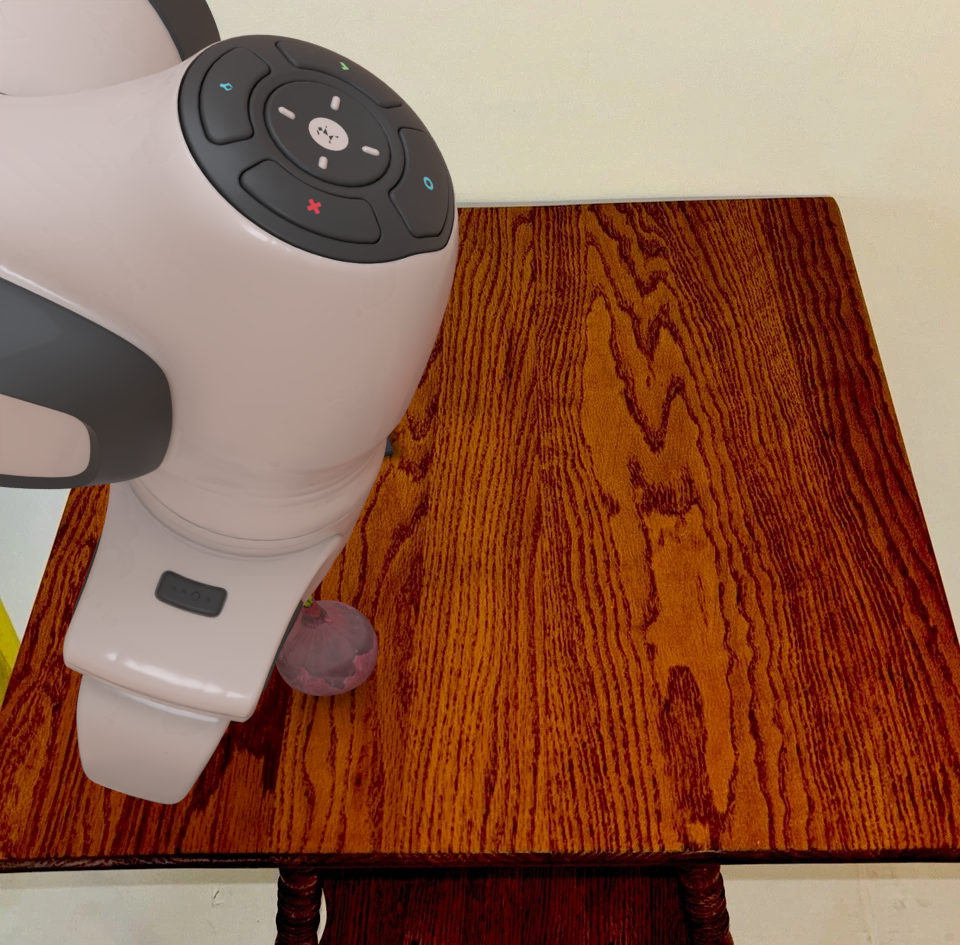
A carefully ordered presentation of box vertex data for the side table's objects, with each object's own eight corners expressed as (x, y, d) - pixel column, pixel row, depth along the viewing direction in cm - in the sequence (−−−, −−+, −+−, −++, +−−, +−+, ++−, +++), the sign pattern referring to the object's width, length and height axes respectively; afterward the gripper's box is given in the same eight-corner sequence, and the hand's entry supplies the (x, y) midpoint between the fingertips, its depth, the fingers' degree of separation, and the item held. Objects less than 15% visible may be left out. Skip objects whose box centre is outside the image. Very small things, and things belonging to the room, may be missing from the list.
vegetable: (274, 663, 67) (241, 567, 59) (364, 627, 68) (342, 530, 61) (303, 740, 63) (270, 647, 56) (397, 701, 64) (378, 606, 57)
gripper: (256, 241, 43) (222, 421, 54) (36, 697, 31) (51, 805, 42) (400, 297, 44) (337, 462, 55) (237, 759, 32) (199, 849, 43)
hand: (211, 615), depth 49 cm, fingers open, 8 cm apart
